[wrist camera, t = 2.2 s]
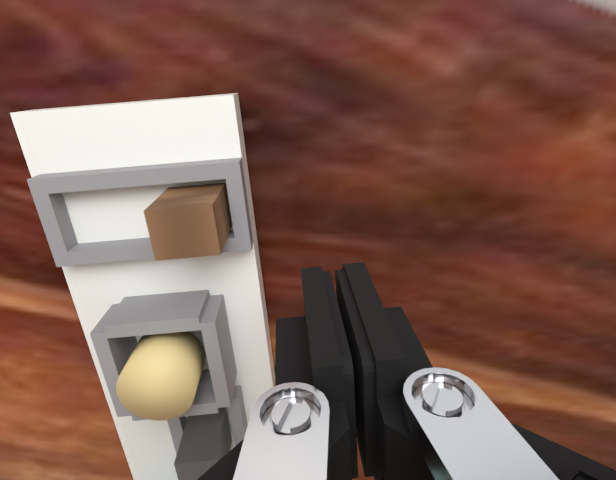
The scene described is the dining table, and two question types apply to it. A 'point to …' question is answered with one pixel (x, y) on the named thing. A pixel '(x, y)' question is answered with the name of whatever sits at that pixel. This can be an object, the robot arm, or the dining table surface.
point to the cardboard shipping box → (189, 221)
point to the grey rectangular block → (202, 444)
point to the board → (154, 264)
